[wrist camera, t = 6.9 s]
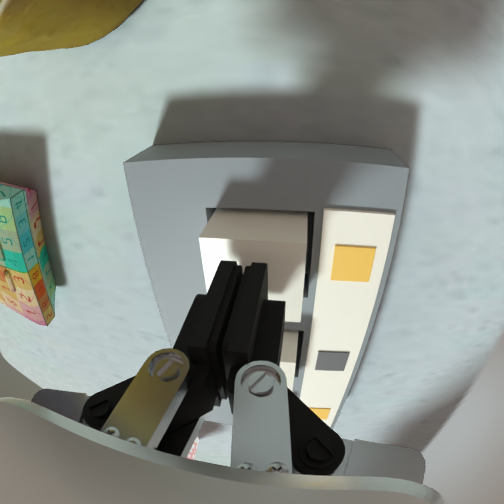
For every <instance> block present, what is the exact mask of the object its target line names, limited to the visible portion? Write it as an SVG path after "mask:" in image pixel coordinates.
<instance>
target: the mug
mask: <svg viewBox="0 0 504 504" xmlns="http://www.w3.org/2000/svg"><path fill="white" fill-rule="evenodd" d="M142 1H143V0H0V57H1V56H7V55H15V54H19V53H24V52H30V51H45V50H52V49H60V48H73V47H80V46H84V45H88V44H90V43H92V42H94V41H96V40H99V39H101V38H103V37H104V36H106V35H107V34H109V33H110V32H111V31H113V30H115V29H116V28H118V27H119V26H120V25H121V24H122V23H123V22H124V21H125V20H126V18H127V17H128V16H129V15H130V13H131V12H132V11H133V10H134V9H135V8H136V7H137V6H138V5H139V4H140V3H141V2H142Z"/></svg>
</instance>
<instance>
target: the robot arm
mask: <svg viewBox="0 0 504 504" xmlns="http://www.w3.org/2000/svg"><path fill="white" fill-rule="evenodd" d="M285 307H286V301H278V300H268V264H267V263H257V262H252V263H251V266H246V267H245V270H244V273H243V270H242V266H241V265H237V262H236V261H226V260H221V261H220V263H219V265H218V268H217V270H216V272H215V275H214V277H213V280H212V282H211V285H210V287H209V289H208V292H207V294H197V295H196V297H195V298H194V301H193V303H192V305H191V307H190V310H189V312H188V314H187V316H186V319H185V321H184V323H183V326H182V328H181V330H180V333H179V335H178V337H177V340H176V342H175V344H174V347H173V349H171V348H169V349H162V350H159V351H156V352H155V353H153V354H151V355H150V356H149V358H148V359H147V360H146V361H145V363H144V364H143V366H142V367H141V369H140V370H139V372H138V373H137V375H136V376H134V377H132V378H129V379H127V380H125V381H123V382H121V383H118V384H116V385H114V386H112V387H109V388H107V389H105V390H103V391H100V392H98V393H96V394H94V395H92V396H88V395H87V394H85V393H76V392H68V391H60V390H53V389H42V390H39V391H38V392H37V393H36V394H35V395H34V396H33V398H32V401H31V402H30V401H27V400H24V399H19V398H12V397H6V398H0V504H446V501H445V500H444V498H443V497H442V495H441V494H440V493H438V492H437V491H436V490H434V489H432V488H430V487H428V486H425V485H423V479H424V473H425V459H424V457H423V455H422V454H421V453H420V452H419V451H418V450H415V449H412V448H407V447H399V446H392V445H386V444H380V443H374V442H368V441H363V440H358V439H355V440H354V441H351V440H347V439H342V438H340V436H339V435H338V434H337V433H336V432H334V431H333V430H332V429H331V428H330V427H329V426H328V425H327V424H326V423H325V422H324V421H322V420H321V419H320V418H319V417H318V416H317V415H316V414H315V413H314V412H313V411H312V410H311V409H310V408H309V407H308V406H307V405H305V404H304V403H303V402H302V401H301V400H300V399H299V398H298V397H297V396H296V395H295V394H294V393H293V392H292V391H291V390H290V389H289V388H288V387H287V379H286V376H285V373H284V372H283V370H282V369H281V368H280V360H281V352H282V344H283V335H284V324H285ZM227 398H228V399H229V404H230V408H231V413H232V414H233V426H232V446H231V467H228V466H222V465H217V464H212V463H207V462H202V461H197V460H192V459H188V458H186V457H187V455H188V453H189V451H190V449H191V447H192V445H193V443H194V441H195V439H196V437H197V435H198V433H199V431H200V429H201V427H202V424H203V422H204V420H205V417H206V414H207V413H208V412H210V411H212V410H213V408H214V406H218V407H220V405H221V401H222V399H225V400H227Z"/></svg>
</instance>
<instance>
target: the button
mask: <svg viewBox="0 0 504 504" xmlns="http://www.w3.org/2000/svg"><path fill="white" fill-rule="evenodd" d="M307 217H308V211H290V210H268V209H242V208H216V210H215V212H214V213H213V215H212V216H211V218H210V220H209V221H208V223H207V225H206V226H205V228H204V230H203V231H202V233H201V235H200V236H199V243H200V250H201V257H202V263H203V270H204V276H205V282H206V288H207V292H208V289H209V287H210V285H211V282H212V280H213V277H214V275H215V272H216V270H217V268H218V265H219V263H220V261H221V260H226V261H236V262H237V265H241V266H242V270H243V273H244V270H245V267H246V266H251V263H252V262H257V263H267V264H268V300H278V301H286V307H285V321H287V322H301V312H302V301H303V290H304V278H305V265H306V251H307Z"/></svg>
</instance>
